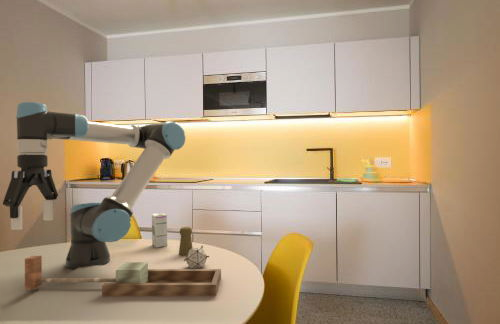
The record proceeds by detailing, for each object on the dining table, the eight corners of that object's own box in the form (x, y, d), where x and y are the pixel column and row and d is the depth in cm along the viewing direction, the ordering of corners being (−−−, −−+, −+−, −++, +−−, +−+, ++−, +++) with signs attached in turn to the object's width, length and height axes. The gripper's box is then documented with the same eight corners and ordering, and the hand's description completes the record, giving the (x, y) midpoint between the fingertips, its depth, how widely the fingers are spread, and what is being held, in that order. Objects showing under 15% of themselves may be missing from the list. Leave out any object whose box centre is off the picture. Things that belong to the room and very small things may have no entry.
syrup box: (167, 245, 145) (167, 214, 145) (155, 247, 142) (154, 215, 142) (164, 243, 150) (163, 212, 150) (151, 245, 147) (151, 213, 147)
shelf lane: (102, 299, 88) (102, 285, 88) (121, 281, 101) (121, 269, 101) (216, 299, 88) (216, 284, 88) (221, 281, 101) (220, 268, 101)
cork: (179, 251, 135) (179, 226, 135) (194, 251, 136) (193, 225, 136) (177, 255, 129) (177, 228, 129) (192, 255, 130) (192, 228, 130)
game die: (199, 281, 111) (202, 264, 105) (178, 271, 113) (180, 253, 107) (211, 262, 118) (214, 245, 112) (190, 253, 120) (193, 235, 114)
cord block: (19, 291, 92) (19, 260, 92) (36, 282, 99) (36, 253, 99) (139, 291, 91) (139, 260, 91) (148, 282, 98) (147, 253, 98)
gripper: (13, 153, 83) (14, 234, 83) (69, 154, 108) (70, 217, 108) (-15, 153, 83) (-14, 234, 83) (47, 155, 108) (48, 217, 108)
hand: (33, 224), depth 95 cm, fingers open, 13 cm apart
